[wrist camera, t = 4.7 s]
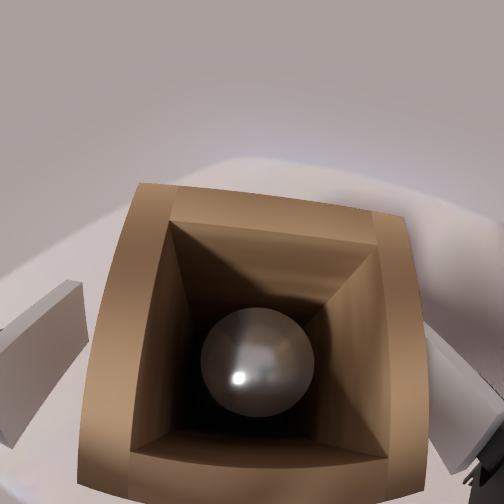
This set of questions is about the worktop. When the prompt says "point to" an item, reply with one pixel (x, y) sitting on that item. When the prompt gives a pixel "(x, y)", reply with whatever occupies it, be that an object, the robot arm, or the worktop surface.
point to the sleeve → (257, 296)
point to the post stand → (248, 372)
